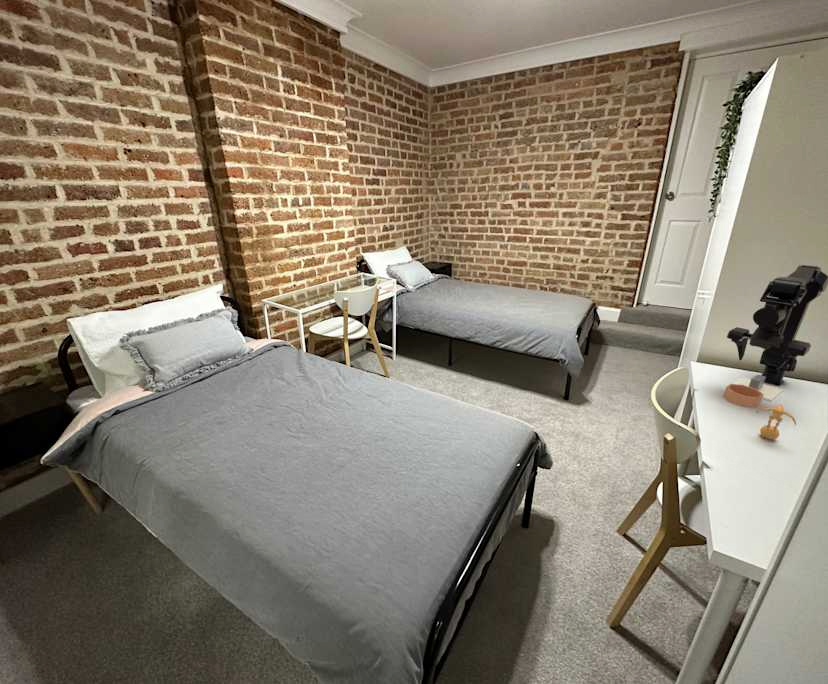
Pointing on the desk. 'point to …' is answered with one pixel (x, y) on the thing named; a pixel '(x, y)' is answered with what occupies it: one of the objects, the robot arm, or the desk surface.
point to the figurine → (772, 431)
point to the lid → (760, 386)
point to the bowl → (743, 395)
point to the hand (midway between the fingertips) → (758, 364)
